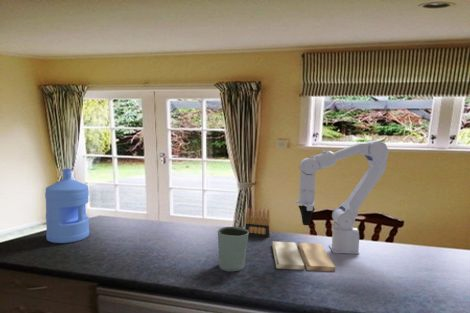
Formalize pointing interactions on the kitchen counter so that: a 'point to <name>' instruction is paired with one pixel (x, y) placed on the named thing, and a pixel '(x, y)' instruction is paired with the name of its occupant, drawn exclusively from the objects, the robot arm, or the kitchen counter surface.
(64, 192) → the water jug
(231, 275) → the kitchen counter surface
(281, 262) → the plank
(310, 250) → the laid plank
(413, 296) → the kitchen counter surface
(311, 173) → the robot arm
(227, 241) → the green cup
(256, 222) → the ammunition clip
